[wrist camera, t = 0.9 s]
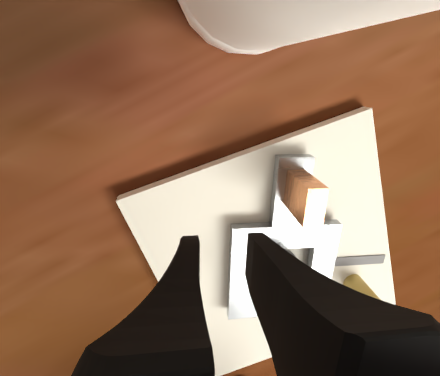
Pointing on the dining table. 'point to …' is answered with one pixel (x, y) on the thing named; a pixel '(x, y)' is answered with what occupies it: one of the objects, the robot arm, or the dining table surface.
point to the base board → (267, 220)
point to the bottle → (289, 20)
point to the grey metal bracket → (286, 227)
